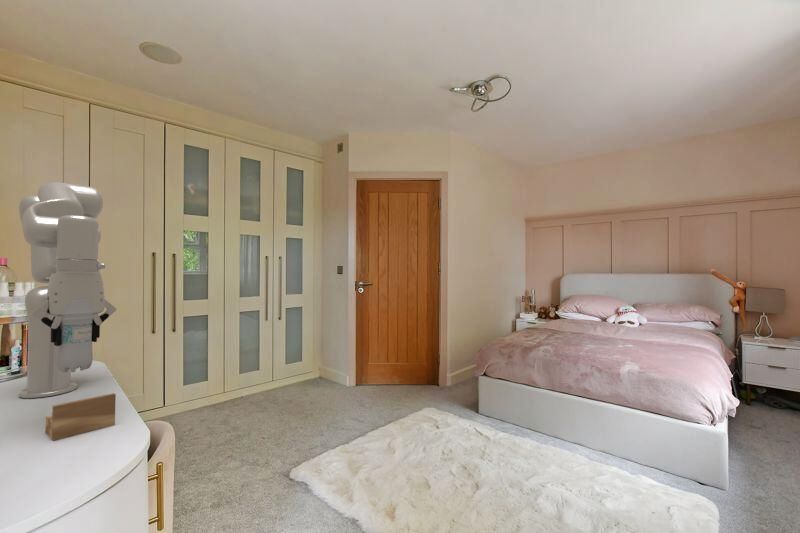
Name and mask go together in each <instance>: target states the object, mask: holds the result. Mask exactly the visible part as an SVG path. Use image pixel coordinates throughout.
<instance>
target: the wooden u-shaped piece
mask: <svg viewBox="0 0 800 533" xmlns="http://www.w3.org/2000/svg"><path fill="white" fill-rule="evenodd" d="M116 395H117V394H116V393H114V392H113V393H109V394H103V395H99V396H94V397H93V396H92V397H89V398H84V399H77V400H73V401H69V402H64V403H59V404H54V405H52V406H51V408H52V411H51V412H52V413H51V414H46V415H45V430H44V433H46V435H47V436H48V437H49V438H50V439H51V441H57V440H61V439H65V438H69V437H73V436H76V435H81V434H85V433H88V432H93V431H96V430H101V429H104V428H108V427H112V426H115V425H116ZM111 425H112V426H111ZM107 426H108V427H107ZM103 427H104V428H103Z"/></svg>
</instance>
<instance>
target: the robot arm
mask: <svg viewBox="0 0 800 533" xmlns="http://www.w3.org/2000/svg"><path fill="white" fill-rule="evenodd" d="M103 208H104V200H103V195H102V194H101V192H100V191H99V190H98V189H97V188H95V187H93V186H87V185H82V184H81V185H80V184H74V183H67V182H59V181H52V182H51V181H50V182H47V183H44V184H42V185H41V186H40V187H39V188H38V190H37V195H35V194H34V195H27V196H24V197H22V198H21V199H20V200H19V205H18V212H19V219H20V222H21V229H22V234H23V237H24V239H25V241H26V243H27V244H28V245H30V270H31V275H32V279H33V280H34V281H35V282H37V283H39V284H46V285H45V286H38V287H34V288H32V289H30V290H29V291H27V293H26V295H25V298H24V306H25V310H26V318H27V329H28V330H27V332H28V334H27V336H28V338H27V344H28V345H27V369H26V372H27V373H26V374H27V375H26V376H27V377H26V388H24V389H23V390H20V391H19V392H18V396H19V398H23V399H34V398H35V399H37V398H38V399H39V398H47V397H53V396H56V395H61V394H66V393H70V392H73V391H74V390H76V389H78V383H76V382H72V381H71V380H72V379H71V378H72V377H71V376H72V372H71V370H68V372H66V373H65V372H62V371H60V370H59V369H58V364H57V360H58V351H59V346H60V345H61V329H60V322H61V318H62V317H61V316H62V315H64V312H65V310H66V308H67V306H68V304H69V301H71V300H75V299H86V300H89V302H90V305H91V307H92V311H93V314H94V315H93V316H94V318H93V321H92V343H97V342H98V339H99V338H100V335H101V334H100V333H101V332H100V331H101V325H102V324H103V322H105V321H106V320H107V319H108V318H110V317H111V315H113V314H114V313H115V312H116V311H117V308H116V307H115V306H114V305H113V304H111V302H109V301H108V300H107V299H105V288H104V282H103V276H102V273H101V271H100V270H104V269H106V264H105V263H102V262H100V260H99V244H100V242H101V237H102V235H101V229H100V226H99V221H98V220H97V218H98V217H99V215H100V214H101V212H102V210H103ZM47 284H48V285H47ZM105 309H106V310H105ZM100 313H101V314H100ZM99 314H100V315H99Z"/></svg>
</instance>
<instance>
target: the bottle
mask: <svg viewBox="0 0 800 533" xmlns="http://www.w3.org/2000/svg"><path fill="white" fill-rule="evenodd" d="M93 315H94V314H93V311H92V307H91V305H90V302H89V300H86V299H75V300H71V301H69V304H68V306H67V308H66V310H65V312H64V315H62V316H61V317H62V318H61V322H60V329H61V345H60V346H59V351H58V360H57V364H58V369H59V370H60V371H62V372H65V373H66V372H68V370H71V373H75V372H76V371H77V369H80V371H81V372H82V371H85V370H89V369H90V368H91V366H92V365H93V359H94V356H93V355H94V354H93V342H92V321H93V318H94V316H93Z"/></svg>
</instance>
